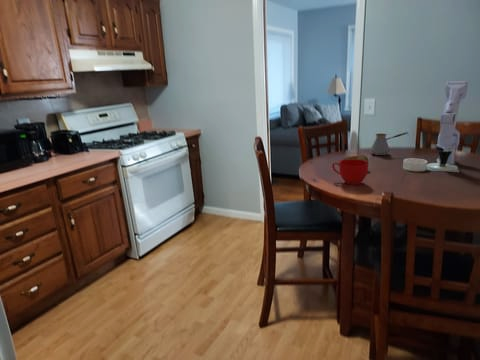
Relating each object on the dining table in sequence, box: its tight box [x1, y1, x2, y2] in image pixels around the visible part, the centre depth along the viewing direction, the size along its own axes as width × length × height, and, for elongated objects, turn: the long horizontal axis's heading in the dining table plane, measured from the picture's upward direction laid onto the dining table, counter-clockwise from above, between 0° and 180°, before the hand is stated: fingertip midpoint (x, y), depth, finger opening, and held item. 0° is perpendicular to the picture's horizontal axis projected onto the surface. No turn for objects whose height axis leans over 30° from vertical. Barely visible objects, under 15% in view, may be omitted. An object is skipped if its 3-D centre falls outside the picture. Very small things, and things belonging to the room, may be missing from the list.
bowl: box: [402, 157, 428, 172], centre depth 178 cm, size 11×11×4 cm
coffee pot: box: [370, 131, 409, 156], centre depth 209 cm, size 21×12×15 cm, turn 52°
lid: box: [427, 159, 459, 172], centre depth 177 cm, size 14×14×4 cm
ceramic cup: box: [331, 159, 369, 186], centre depth 161 cm, size 13×17×10 cm
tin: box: [342, 154, 369, 163], centre depth 180 cm, size 15×3×8 cm, turn 105°
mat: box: [426, 164, 460, 173], centre depth 178 cm, size 14×14×1 cm
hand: (442, 162), depth 177 cm, fingers open, 7 cm apart
